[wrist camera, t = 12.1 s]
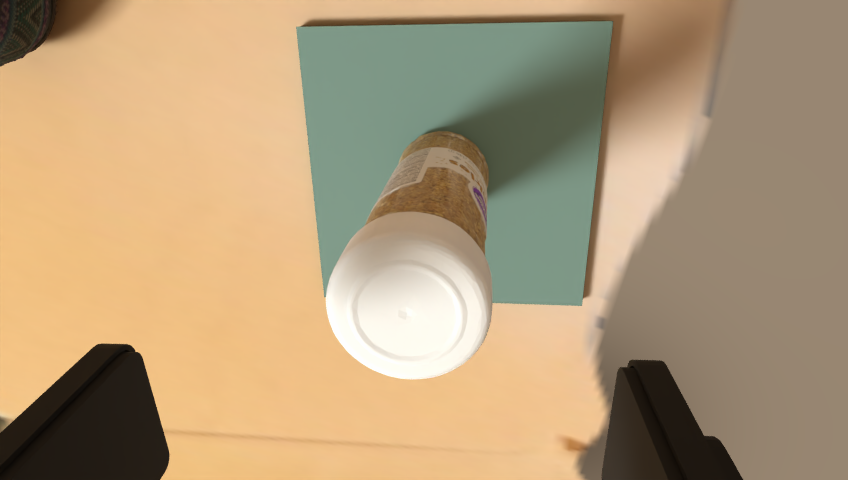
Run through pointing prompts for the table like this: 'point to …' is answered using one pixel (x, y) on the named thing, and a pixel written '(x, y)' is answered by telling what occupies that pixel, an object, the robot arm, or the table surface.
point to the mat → (465, 134)
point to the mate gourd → (24, 26)
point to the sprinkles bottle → (419, 265)
